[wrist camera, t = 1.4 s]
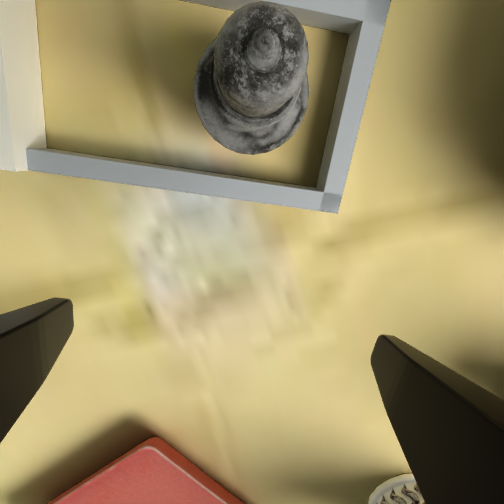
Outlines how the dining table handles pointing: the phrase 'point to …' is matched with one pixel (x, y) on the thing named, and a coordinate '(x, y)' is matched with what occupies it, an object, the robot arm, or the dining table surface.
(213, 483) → the plant saucer
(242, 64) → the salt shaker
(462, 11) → the dining table surface
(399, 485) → the decorative candle
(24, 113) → the frame
